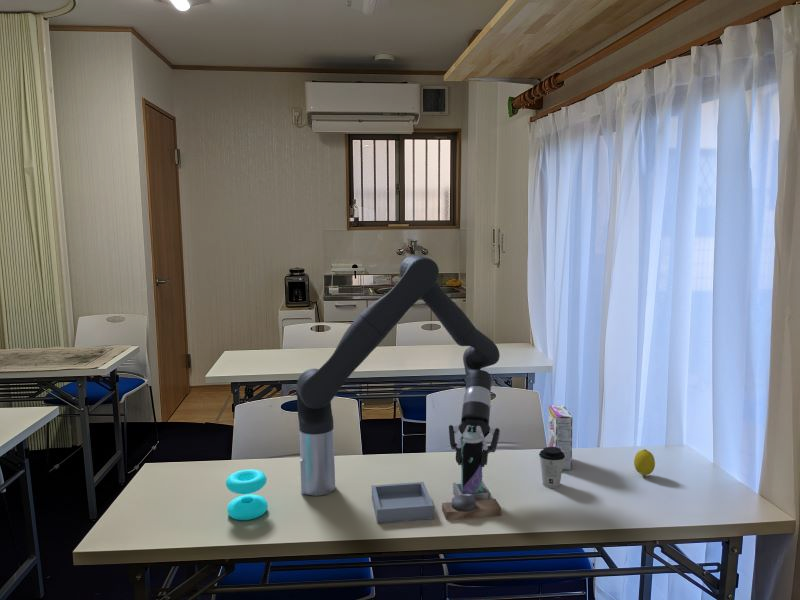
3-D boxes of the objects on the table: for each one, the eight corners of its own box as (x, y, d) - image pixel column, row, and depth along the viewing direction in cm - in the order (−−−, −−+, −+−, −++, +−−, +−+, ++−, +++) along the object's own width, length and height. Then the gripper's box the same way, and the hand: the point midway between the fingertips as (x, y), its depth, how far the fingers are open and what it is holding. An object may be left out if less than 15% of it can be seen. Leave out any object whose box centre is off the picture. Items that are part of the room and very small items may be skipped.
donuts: (220, 473, 161) (258, 464, 166) (222, 510, 162) (259, 500, 167) (232, 487, 152) (272, 477, 157) (234, 526, 154) (273, 515, 159)
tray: (377, 523, 154) (377, 509, 154) (371, 497, 168) (371, 485, 167) (433, 518, 156) (433, 505, 155) (423, 494, 170) (423, 481, 169)
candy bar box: (546, 455, 195) (547, 404, 193) (563, 455, 195) (564, 404, 193) (554, 470, 184) (556, 416, 182) (572, 470, 184) (573, 416, 182)
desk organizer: (446, 520, 155) (446, 507, 154) (435, 494, 169) (435, 482, 169) (501, 516, 157) (501, 503, 156) (485, 491, 171) (485, 478, 171)
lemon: (655, 474, 180) (657, 447, 179) (652, 481, 176) (653, 454, 175) (635, 470, 183) (636, 444, 182) (631, 477, 179) (632, 450, 178)
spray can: (468, 505, 163) (469, 431, 160) (457, 497, 168) (457, 424, 165) (486, 500, 165) (486, 427, 163) (474, 492, 170) (474, 421, 167)
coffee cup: (554, 492, 170) (555, 457, 168) (533, 484, 175) (533, 449, 174) (569, 484, 174) (570, 450, 173) (548, 477, 180) (549, 443, 178)
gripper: (449, 398, 172) (441, 457, 162) (502, 401, 169) (498, 461, 159) (451, 411, 178) (445, 468, 168) (503, 414, 174) (499, 472, 165)
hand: (471, 464), depth 163 cm, fingers closed on spray can, 5 cm apart
